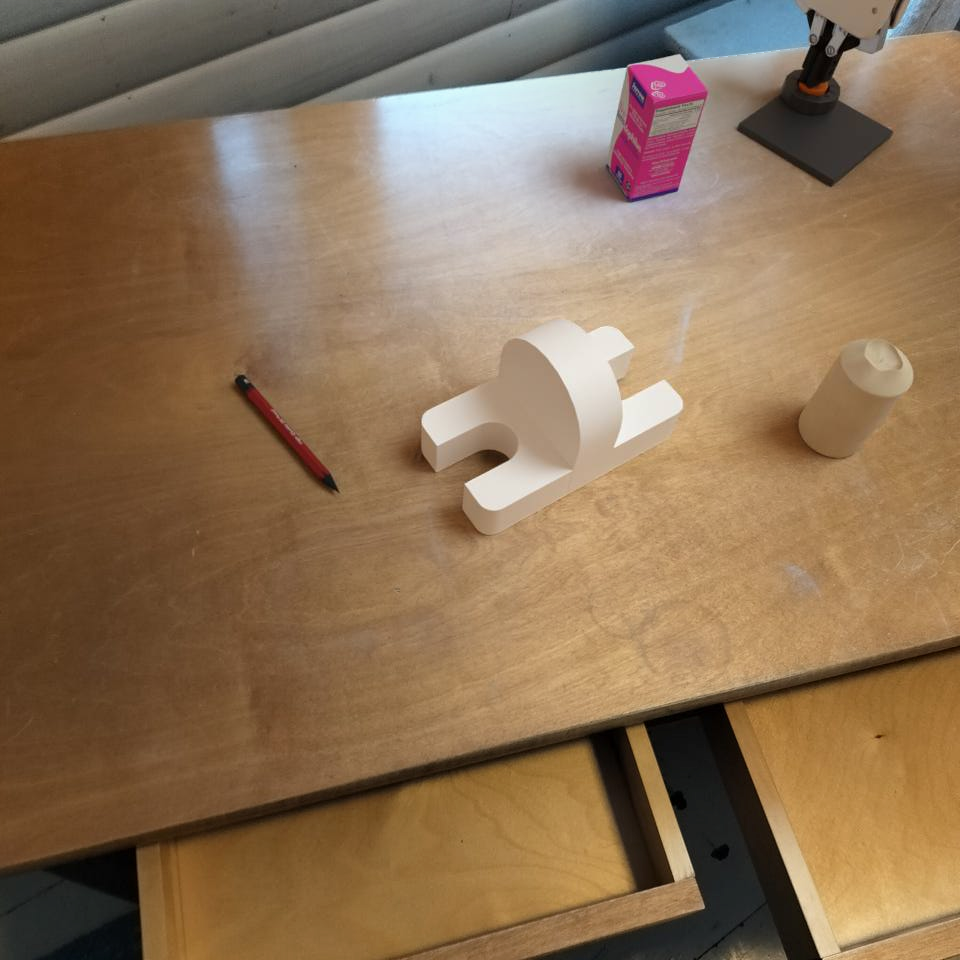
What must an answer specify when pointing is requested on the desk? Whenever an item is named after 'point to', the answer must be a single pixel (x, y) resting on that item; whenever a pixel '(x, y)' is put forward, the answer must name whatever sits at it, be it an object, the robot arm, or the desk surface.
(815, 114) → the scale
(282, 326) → the desk surface
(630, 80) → the supplement box
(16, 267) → the desk surface
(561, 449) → the bracket
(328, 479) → the pencil
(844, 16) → the robot arm
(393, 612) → the desk surface
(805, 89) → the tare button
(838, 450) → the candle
